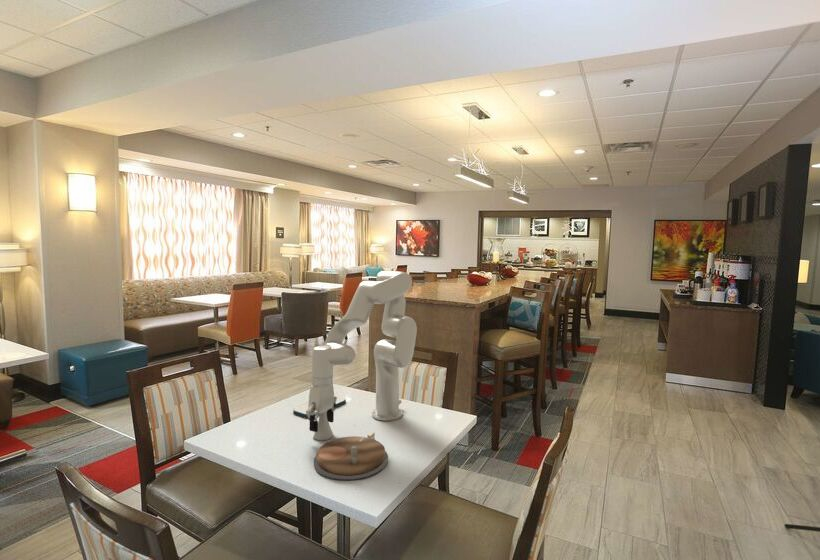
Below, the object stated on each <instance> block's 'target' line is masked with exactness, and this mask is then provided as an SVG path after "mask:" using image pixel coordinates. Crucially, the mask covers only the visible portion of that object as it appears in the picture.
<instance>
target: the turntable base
mask: <svg viewBox="0 0 820 560" xmlns="http://www.w3.org/2000/svg"><path fill="white" fill-rule="evenodd" d="M375 435H376V433H375V431H371V432H369V433H368V434H367V438H371V439H374V440H376V439H375ZM388 464H389V454H388V451H386V450H385V460H384V462H383V463H382V464H381V465H380V466H379V467H377V468H376V469H374V470H372V471H369V472H366V473H362V474H357V475H338V474H333V473H329V472H327V471H325V470H323V469H322V468H320V467H319V465H318V464H317V454H316V455H315V456H314V458H313V469H314V471H316V473H317V474H318V475H320V476H322V477H324V478H326V479H329V480H332V481H337V482H338V481H339V482H355V481H361V480H366V479H369V478H372V477H374V476H376V475H378V474H380V473H381V472H383V471H384V470H385V469H386V468H387V466H388Z"/></svg>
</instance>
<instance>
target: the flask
mask: <svg viewBox="0 0 820 560" xmlns="http://www.w3.org/2000/svg"><path fill="white" fill-rule="evenodd" d="M317 421H318V431H317V432H313V433H314V434H313V439H314V440H318V441H328V440H330V439H332V438H333V435H334V433H333V431H332V428H331V426H330V422H328V420H327V411H325V412H323V413H321V414H319V416H318V420H317Z"/></svg>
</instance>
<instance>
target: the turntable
mask: <svg viewBox="0 0 820 560" xmlns="http://www.w3.org/2000/svg"><path fill="white" fill-rule="evenodd" d="M385 451H386V448H385V446H384V445H383V444H382V443H381V442H379V440H376V439H375V440H374V439H371V438H367V437H365V436H359V435H358V436H356V435H354V436H343V437H338V438H334V439H331V440H329V441H327V442H325V443H324V444H322V445H321V446H320V447H319V448H318V450H317V451H316V455H317V464H318V465H319V467H320V468H322V469H323V470H325V471H327V472H329V473H333V474H338V475H357V474H362V473H366V472H369V471H372V470H374V469H376V468H377V467H379V466H380V465H381V464H382V463H383V462H384V460H385Z"/></svg>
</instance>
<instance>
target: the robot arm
mask: <svg viewBox="0 0 820 560" xmlns="http://www.w3.org/2000/svg"><path fill="white" fill-rule="evenodd" d="M412 279H413V278H412V277H411V275H410V274H409V273H408V272H405V271H398V270H381V271H379V272H378V273H377V275H376V278H375V280H363V281H361V282H360V283H359V285H358V287H357V289H356V291H355V293H354V295H353V297H352V299H351V302H350V304H349V306H348V309H347V311H346V313H345V315H343V316H342V317H341V318H340V319H339V320H338V321H337V322H336V323H335V324H334V325H333V326H332V328H331V329H330V330H329V332H328V333H327V337H326V338H325V341H324V343H323V345H317V346H314V347H313V349H312V353H311V354H312V355H311V385H310V389H309V393H308V394H309V395H308V402H309V403H308V402H307V403H308V409H307V411H306V414H307V418H306V419H308V421H309V428H308V429H309V431H310V432H313V433H315V432H317V431H318V421H319V420H318V419H319V414H321V413H323V412H325V411H327V410H328V411H327V420H328V422H329V423H333V422H334V421H335V420H334V416H335V415H334V413H335V410H336V408H334V407H335V405H336V400H337V397H335V396H334V395H335V392H334V391H335V390H334V388H335V387H334V366H347V365H348V366H349V365H351V364H352V363H353V362H354V361H355V358H356V351H355V349H354V348H353V347H352V346H351V345H348V344H345V343H343V341H344V340H345V338H346V337H347V336H348V334H349V333H351V332H352V331H354V330H356V329H358V328H360V327H362V326H364V325H366V324H367V323H368V322H367V321H369V317H370V315H371V312H372V310H373V308H374V305H384V309H383V315H382V321H381V332H382V334H383V335H385V336H387V337H390V338H395V339H396V340H392V339H388V338H387V339H381V340H379V341H377V342H376V343H375V344H374V348H373V358H374V363H375V365H374V366H375V409H374V410H372V412H371V416H372V417H373V418H374V419H375V420H378V421H386V422H390V421H396V420H399V419H400V418H402V416H403V410H402V409H400V407H399V406H400V405H401V404H402V399H399V398H400V370H399V368H400V369H401V368H402V369H404V368H407V367H408V366H409V365H410V363H412V360H413V357H414V352H415V347H416V339H417V332H418V328H417V323H416V321H415V319H413V318H412V317H411V316H407V315H405V314H406V305H407V304H406V303H407V302H406V297H405V294H406V293H407V292H409V290H410V289H411V287H412V285H413V280H412ZM314 411H317V412H314ZM314 414H316V415H315V417H314V416H313V415H314Z"/></svg>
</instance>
